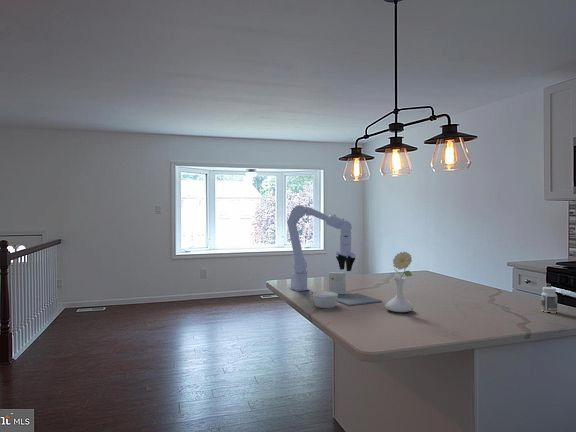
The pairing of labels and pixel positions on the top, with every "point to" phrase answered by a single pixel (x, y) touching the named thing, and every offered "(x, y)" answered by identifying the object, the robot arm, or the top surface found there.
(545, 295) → the pill bottle
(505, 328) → the top surface
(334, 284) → the small box
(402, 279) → the flower in vase
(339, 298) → the grey mat
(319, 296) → the ramekin
